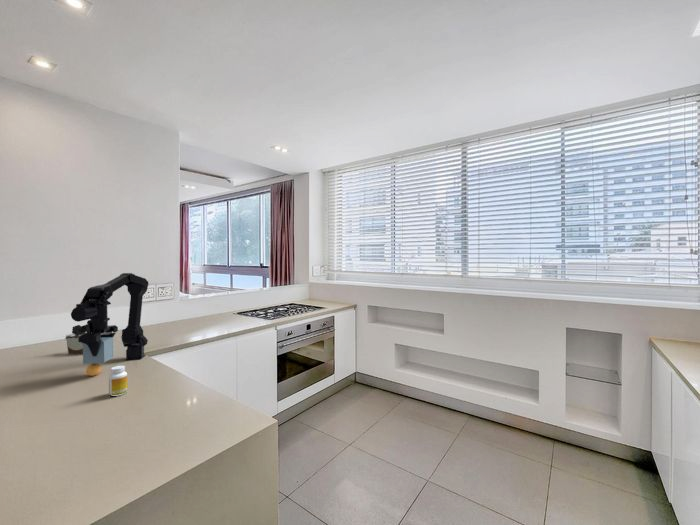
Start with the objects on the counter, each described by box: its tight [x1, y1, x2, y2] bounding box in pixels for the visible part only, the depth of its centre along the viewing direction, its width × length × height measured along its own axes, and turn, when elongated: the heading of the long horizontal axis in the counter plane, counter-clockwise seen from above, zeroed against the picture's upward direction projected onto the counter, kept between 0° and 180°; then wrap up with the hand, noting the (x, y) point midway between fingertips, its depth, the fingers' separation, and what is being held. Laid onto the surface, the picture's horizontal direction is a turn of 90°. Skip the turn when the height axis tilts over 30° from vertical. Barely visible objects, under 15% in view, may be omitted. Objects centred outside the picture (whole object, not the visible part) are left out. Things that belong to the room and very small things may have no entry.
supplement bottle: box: [108, 365, 128, 396], centre depth 113 cm, size 5×5×10 cm
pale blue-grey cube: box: [82, 337, 114, 365], centre depth 133 cm, size 8×8×9 cm
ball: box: [85, 363, 102, 377], centre depth 132 cm, size 5×5×5 cm
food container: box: [65, 333, 85, 355], centre depth 165 cm, size 12×6×10 cm, turn 84°
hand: (99, 353), depth 133 cm, fingers closed on pale blue-grey cube, 7 cm apart
